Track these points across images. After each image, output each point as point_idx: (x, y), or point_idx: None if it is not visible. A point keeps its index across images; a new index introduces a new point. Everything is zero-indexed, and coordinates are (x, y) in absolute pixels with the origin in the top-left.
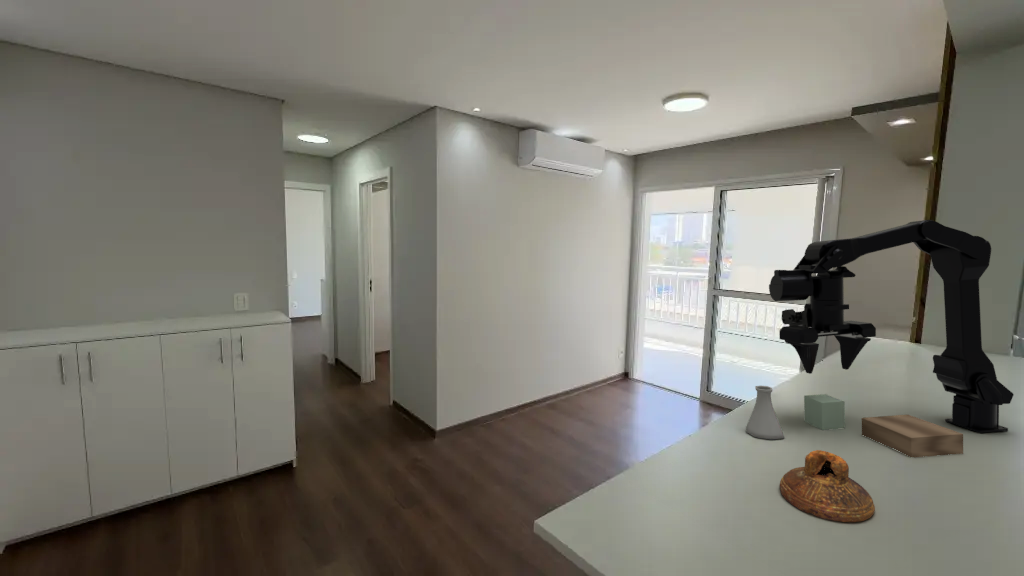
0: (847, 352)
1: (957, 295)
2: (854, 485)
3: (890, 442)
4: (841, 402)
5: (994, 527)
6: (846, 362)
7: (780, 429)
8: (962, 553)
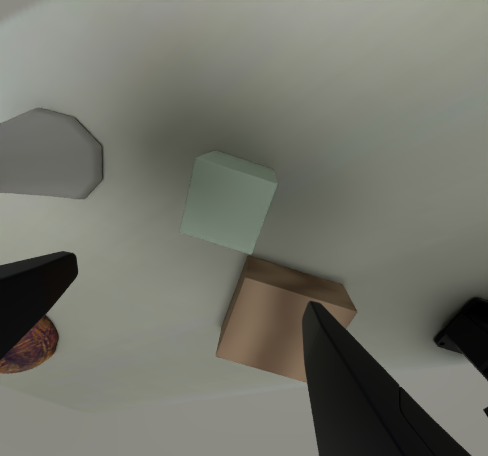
0: (339, 440)
1: None
2: (8, 370)
3: (229, 309)
4: (242, 250)
5: (131, 401)
6: (310, 354)
7: (65, 197)
8: (68, 399)
